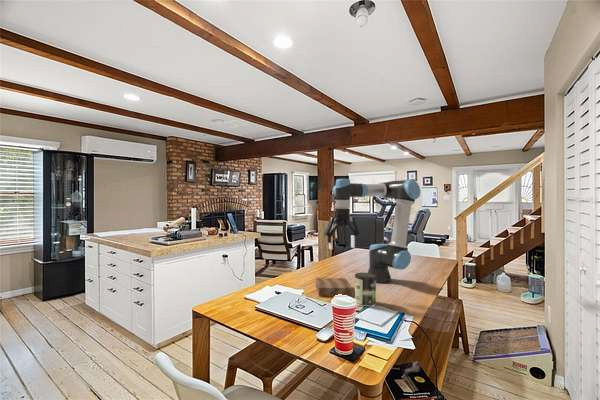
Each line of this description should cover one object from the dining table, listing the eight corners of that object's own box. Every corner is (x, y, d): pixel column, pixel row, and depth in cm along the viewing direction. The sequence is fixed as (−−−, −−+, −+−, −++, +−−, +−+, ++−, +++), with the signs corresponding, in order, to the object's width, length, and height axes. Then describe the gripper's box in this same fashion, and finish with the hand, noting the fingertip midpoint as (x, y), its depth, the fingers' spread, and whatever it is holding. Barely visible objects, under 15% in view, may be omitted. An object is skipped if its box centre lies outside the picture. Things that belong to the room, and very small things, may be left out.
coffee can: (378, 302, 142) (378, 274, 142) (372, 308, 133) (372, 279, 133) (358, 298, 147) (359, 271, 147) (351, 304, 138) (351, 275, 138)
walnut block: (345, 285, 168) (345, 278, 168) (352, 296, 150) (352, 287, 150) (315, 285, 167) (315, 278, 167) (318, 296, 149) (319, 287, 149)
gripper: (358, 207, 157) (357, 245, 157) (318, 207, 147) (317, 248, 147) (366, 208, 150) (365, 248, 150) (325, 208, 140) (324, 250, 140)
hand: (341, 248), depth 149 cm, fingers open, 13 cm apart
